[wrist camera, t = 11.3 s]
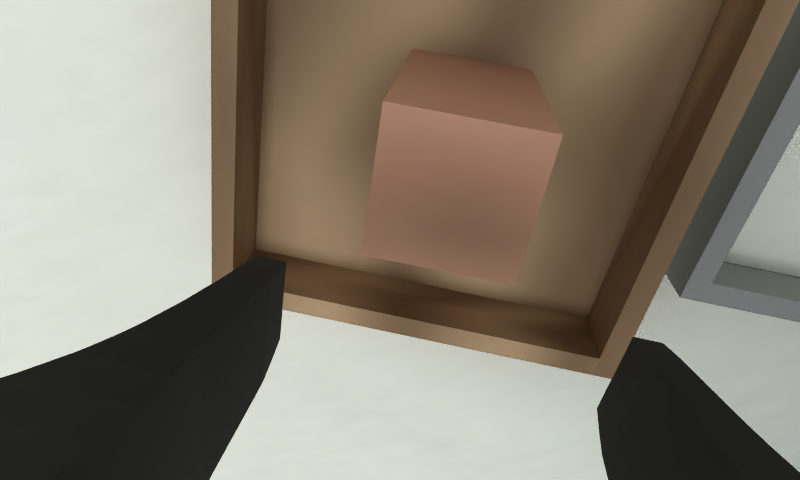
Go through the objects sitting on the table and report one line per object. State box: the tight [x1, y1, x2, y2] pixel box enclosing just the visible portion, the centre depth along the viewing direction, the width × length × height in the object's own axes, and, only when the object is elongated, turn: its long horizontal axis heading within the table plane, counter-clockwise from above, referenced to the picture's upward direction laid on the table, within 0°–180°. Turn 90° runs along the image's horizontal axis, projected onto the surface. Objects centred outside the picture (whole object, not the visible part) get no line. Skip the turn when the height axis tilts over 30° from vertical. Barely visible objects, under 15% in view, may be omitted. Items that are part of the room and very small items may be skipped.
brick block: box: [361, 49, 563, 285], centre depth 16 cm, size 4×4×7 cm
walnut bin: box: [211, 0, 800, 379], centre depth 18 cm, size 16×16×3 cm
